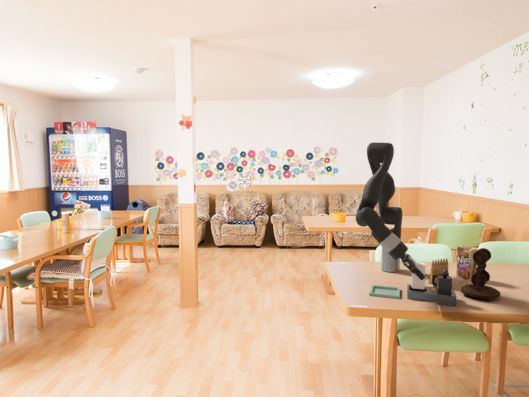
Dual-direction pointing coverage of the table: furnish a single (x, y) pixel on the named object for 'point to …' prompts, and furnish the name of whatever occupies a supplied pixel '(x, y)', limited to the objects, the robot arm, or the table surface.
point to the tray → (385, 291)
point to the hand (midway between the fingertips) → (423, 277)
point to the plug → (416, 281)
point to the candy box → (465, 262)
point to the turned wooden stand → (480, 278)
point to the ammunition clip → (437, 270)
